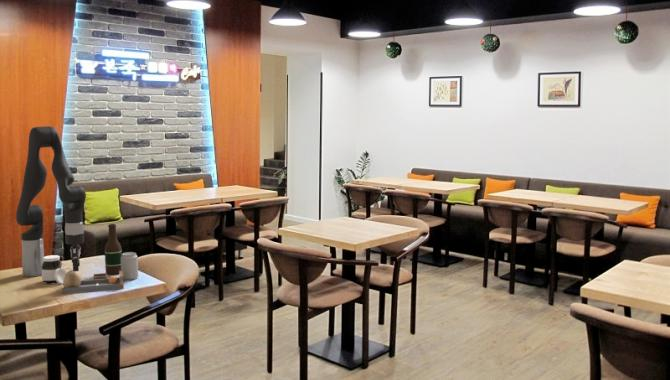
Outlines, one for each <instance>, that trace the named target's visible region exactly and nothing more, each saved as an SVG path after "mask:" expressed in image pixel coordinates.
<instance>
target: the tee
mask: <svg viewBox="0 0 670 380" xmlns="http://www.w3.org/2000/svg"><path fill="white" fill-rule="evenodd" d="M95 279H108V275H107V273H106V272H104V273H103V272H102V273H93V277H92V280H95Z"/></svg>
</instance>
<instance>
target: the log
mask: <svg viewBox="0 0 670 380" xmlns="http://www.w3.org/2000/svg"><path fill="white" fill-rule="evenodd" d="M81 281H82V274H81V272H80V271H79V270H78V271H73V269H71V270H69V271H67V273H66V275H65V278H64V281H63V284H62V285H63V288H64V287H65V288H70V287H80V284H81Z"/></svg>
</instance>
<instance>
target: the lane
mask: <svg viewBox="0 0 670 380" xmlns="http://www.w3.org/2000/svg"><path fill="white" fill-rule="evenodd" d="M109 278H110V277H109ZM109 278H108V277H107V279H95V280H93V279H83V280H81V284H80V287H70V288H65V287H64V286H63V287H62V288H61V294H62V295H64V294H75V293H85V292H96V291H97V292H98V291H109V290H118V289H119V290H121V289H120V279H119V277H117V278H118V282H117V283H116V284H110V283H109V281H108V280H109ZM63 293H64V294H63Z"/></svg>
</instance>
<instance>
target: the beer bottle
mask: <svg viewBox="0 0 670 380" xmlns="http://www.w3.org/2000/svg"><path fill="white" fill-rule="evenodd" d="M116 227H117V224H116V223H110V224H108V225H107V228H108V238H107V242H106V244H105V245H104V263H105V265H104V267H105V273H107V276H117V275H118V276H119V270H121V256H122V254H123V251H122V245H121V243H120V242H119V240H118V237H117V236H118V235H117V228H116Z"/></svg>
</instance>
